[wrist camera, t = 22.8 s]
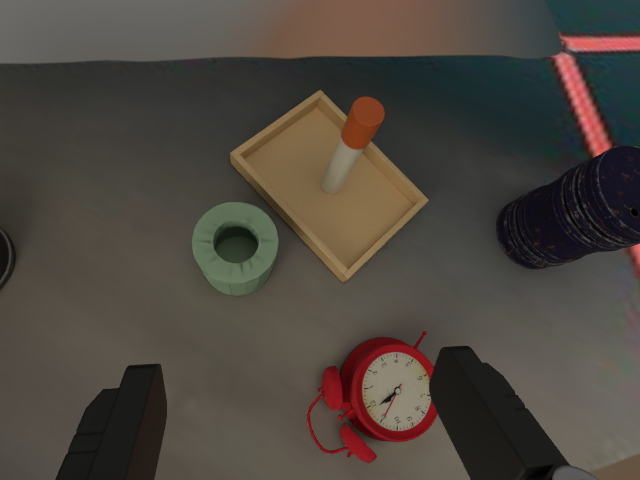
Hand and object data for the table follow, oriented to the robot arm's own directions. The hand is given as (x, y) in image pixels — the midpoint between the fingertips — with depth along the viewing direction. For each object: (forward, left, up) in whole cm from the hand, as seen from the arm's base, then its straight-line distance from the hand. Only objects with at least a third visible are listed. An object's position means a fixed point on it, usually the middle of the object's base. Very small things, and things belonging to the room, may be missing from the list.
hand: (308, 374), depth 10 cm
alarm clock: (+11, +6, -30) cm, 33 cm away
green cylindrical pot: (-9, +5, -30) cm, 32 cm away
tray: (-9, +19, -30) cm, 37 cm away
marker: (-9, +19, -29) cm, 36 cm away
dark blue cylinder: (+13, +36, -30) cm, 48 cm away
